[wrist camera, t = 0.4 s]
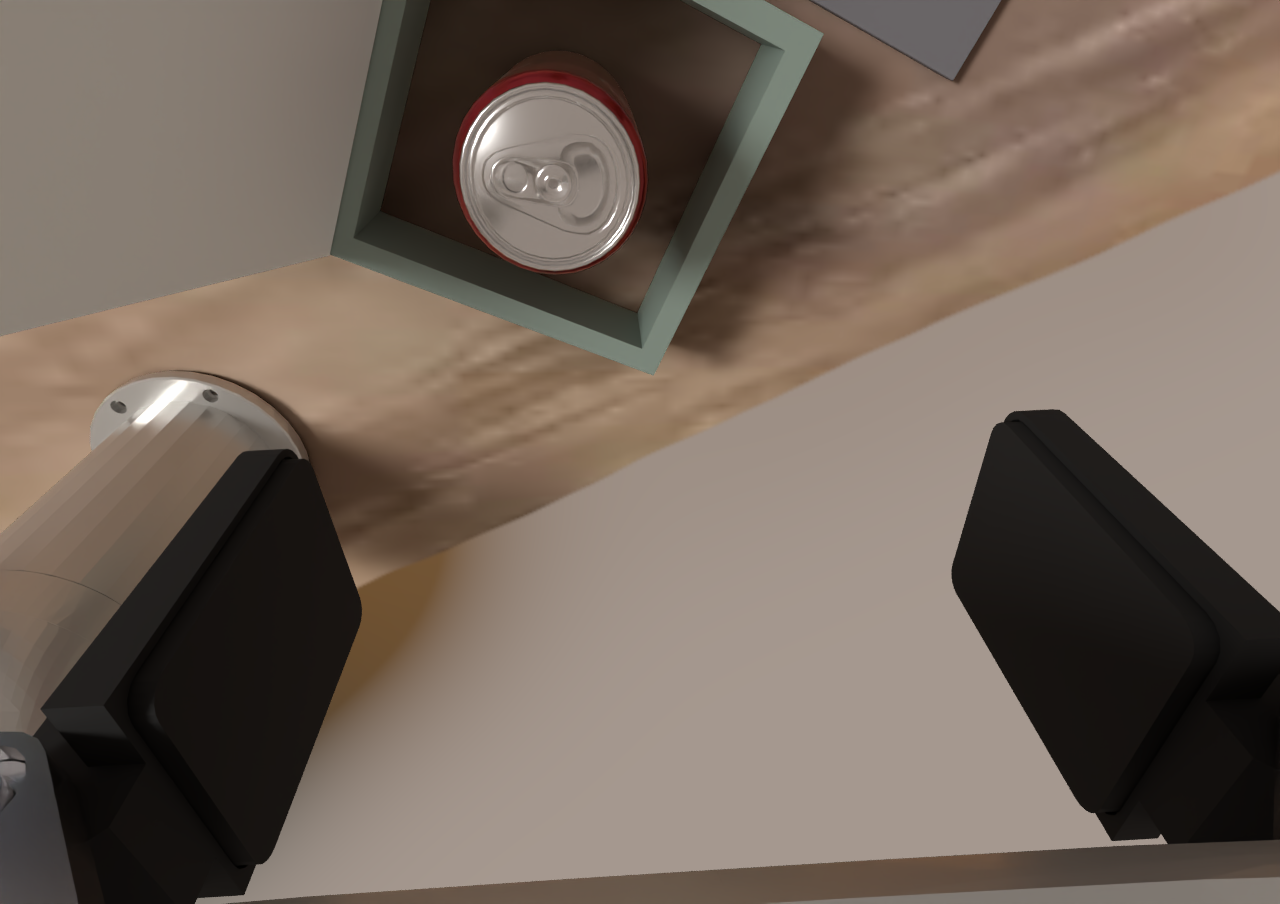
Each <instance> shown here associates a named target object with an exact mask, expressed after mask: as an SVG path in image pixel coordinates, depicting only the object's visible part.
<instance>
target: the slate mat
mask: <svg viewBox="0 0 1280 904" xmlns="http://www.w3.org/2000/svg"><path fill="white" fill-rule="evenodd" d="M810 1H811V2H813V3H815V4H817V5H818V6H820V7H822V8H824V9H825V10H827V11H829V12H831V13H832V14H834V15H836V16H838V17H839V18H841V19H843V20H845V21H846V22H848V23H850V24H852V25H853V26H855V27H857V28H859V29H860V30H862V31H864V32H866V33H867V34H869V35H871V36H873V37H874V38H876V39H878V40H880V41H881V42H883V43H885V44H887V45H888V46H890V47H892V48H894V49H895V50H897V51H899V52H901V53H902V54H904V55H906V56H908V57H910V58H911V59H913V60H915V61H917V62H918V63H920V64H922V65H924V66H925V67H927V68H929V69H931V70H932V71H934V72H936V73H938V74H939V75H941V76H943V77H945V78H946V79H948V80H954V78H955V76H956V75H957V73H958V71H959V70H960V68H961V66H962V65H963V63H964V61H965V60H966V58H967V56H968V55H969V53H970V51H971V50H972V48H973V46H974V45H975V43H976V41H977V40H978V38H979V36H980V35H981V33H982V31H983V30H984V28H985V26H986V25H987V23H988V21H989V20H990V18H991V16H992V15H993V13H994V11H995V10H996V8H997V6H998V5H999V3H1000V1H1001V0H810Z"/></svg>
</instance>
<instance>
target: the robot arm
mask: <svg viewBox="0 0 1280 904" xmlns="http://www.w3.org/2000/svg"><path fill="white" fill-rule="evenodd" d="M90 446H91V450H92V451H91V452H90V453H89V454H88V455H87V456H86V457H85V458H84V459H83V460H81V461H80V462H79V463H78V464H77V465H76V466H75V467H74V468H73V469H71V470H70V471H69V472H68V473H67V474H66V475H65V476H64V477H63V478H62V479H60V480H59V481H58V482H57V483H56V484H55V485H54V486H53V487H52V488H50V489H49V490H48V491H47V492H46V493H45V494H44V495H43V496H42V497H41V498H39V499H38V500H37V501H36V502H35V503H34V504H33V505H32V506H31V507H29V508H28V509H27V510H26V511H25V512H24V513H23V514H22V515H21V516H19V517H18V518H17V519H16V520H15V521H14V522H13V523H12V524H11V525H10V526H8V527H7V528H6V529H5V530H4V531H3V532H2V533H1V534H0V904H195V902H196V900H197V898H205V897H221V896H237V895H244V894H245V891H246V889H247V886H248V884H249V881H250V879H251V876H252V874H253V871H254V868H255V866H256V864H263V863H264V862H265V861H267V860H268V858H269V857H270V856H271V854H272V852H273V850H274V848H275V845H276V843H277V840H278V837H279V835H280V832H281V830H282V827H283V824H284V822H285V819H286V816H287V814H288V811H289V809H290V806H291V804H292V801H293V798H294V796H295V793H296V791H297V787H298V785H299V783H300V780H301V777H302V775H303V772H304V769H305V767H306V764H307V762H308V759H309V756H310V754H311V751H312V749H313V746H314V743H315V740H316V738H317V736H318V733H319V730H320V728H321V725H322V723H323V720H324V717H325V715H326V712H327V710H328V707H329V704H330V702H331V699H332V696H333V694H334V691H335V688H336V686H337V683H338V681H339V678H340V676H341V673H342V670H343V667H344V665H345V663H346V660H347V657H348V655H349V652H350V650H351V647H352V644H353V642H354V639H355V636H356V634H357V631H358V629H359V626H360V622H361V616H362V607H361V600H360V597H359V594H358V591H357V588H356V586H355V583H354V580H353V577H352V575H351V572H350V569H349V566H348V564H347V561H346V558H345V555H344V553H343V550H342V547H341V544H340V542H339V539H338V536H337V533H336V531H335V528H334V525H333V522H332V520H331V517H330V514H329V511H328V509H327V506H326V503H325V500H324V498H323V495H322V492H321V489H320V487H319V484H318V481H317V478H316V476H315V473H314V470H313V468H312V466H311V463H310V462H309V458H308V455H307V451H306V449H305V447H304V445H303V443H302V441H301V439H300V437H299V436H298V434H297V433H296V432H295V430H294V429H293V428H292V426H291V425H290V424H289V422H288V421H287V420H286V419H285V418H284V417H283V416H282V415H281V414H280V413H279V412H278V411H277V410H276V409H274V408H273V407H272V406H271V405H270V404H268V403H267V402H265V401H264V400H263V399H261V398H260V397H258V396H257V395H255V394H254V393H252V392H250V391H248V390H246V389H244V388H242V387H240V386H238V385H236V384H234V383H232V382H229V381H226V380H223V379H220V378H217V377H215V376H210V375H205V374H200V373H196V372H187V371H163V372H155V373H149V374H146V375H143V376H140V377H137V378H134V379H132V380H130V381H128V382H127V383H125V384H123V385H122V386H120V387H118V388H117V389H116V390H115V391H113V392H112V393H111V394H110V395H109V396H107V397H106V398H105V399H104V400H103V402H102V403H101V405H100V406H99V408H98V409H97V410H96V412H95V414H94V417H93V420H92V423H91V426H90ZM952 583H953V586H954V589H955V591H956V593H957V595H958V597H959V599H960V601H961V602H962V604H963V606H964V607H965V609H966V611H967V612H968V614H969V616H970V618H971V619H972V621H973V623H974V624H975V626H976V628H977V630H978V631H979V633H980V635H981V637H982V638H983V640H984V642H985V643H986V645H987V647H988V649H989V650H990V652H991V653H992V655H993V657H994V659H995V661H996V662H997V664H998V666H999V668H1000V669H1001V671H1002V673H1003V674H1004V676H1005V678H1006V679H1007V681H1008V683H1009V685H1010V686H1011V688H1012V690H1013V692H1014V693H1015V695H1016V697H1017V699H1018V700H1019V702H1020V704H1021V705H1022V707H1023V709H1024V711H1025V712H1026V714H1027V716H1028V717H1029V719H1030V721H1031V723H1032V724H1033V726H1034V728H1035V730H1036V731H1037V733H1038V735H1039V736H1040V738H1041V740H1042V741H1043V743H1044V745H1045V746H1046V748H1047V750H1048V752H1049V754H1050V755H1051V757H1052V759H1053V760H1054V762H1055V764H1056V766H1057V767H1058V769H1059V771H1060V773H1061V774H1062V776H1063V778H1064V779H1065V781H1066V783H1067V785H1068V786H1069V787H1070V790H1071V791H1072V793H1073V795H1074V797H1075V798H1076V800H1077V801H1078V802H1079V804H1080V805H1081V806H1082V807H1083V808H1084V809H1085V810H1086V811H1088V812H1090V813H1096V815H1097V817H1098V818H1099V820H1100V822H1101V823H1102V825H1103V827H1104V828H1105V830H1106V832H1107V834H1108V835H1109V837H1110V839H1111V840H1112V841H1121V840H1135V839H1136V840H1137V839H1151V838H1152V839H1153V838H1158V837H1159V836H1160V834H1162V836H1163V837H1164V839H1165V840H1166V842H1167V843H1168V844H1162V845H1135V846H1113V847H1094V848H1077V849H1062V850H1043V851H1024V852H1008V853H990V854H972V855H954V856H938V857H919V858H903V859H884V860H867V861H851V862H834V863H818V864H802V865H786V866H769V867H753V868H737V869H722V870H705V871H689V872H673V873H657V874H642V875H626V876H610V877H594V878H578V879H563V880H548V881H534V882H533V881H532V882H518V883H503V884H489V885H473V886H458V887H444V888H429V889H414V890H399V891H384V892H370V893H356V894H340V895H325V896H311V897H298V898H287V899H275V900H263V901H251V902H240V903H230V904H1280V612H1279V611H1278V610H1277V609H1276V608H1275V607H1274V606H1272V605H1271V604H1270V603H1269V602H1268V601H1267V600H1266V599H1265V598H1264V597H1263V596H1262V595H1261V594H1259V593H1258V592H1257V591H1256V590H1255V589H1254V588H1253V587H1252V586H1251V585H1250V584H1249V583H1248V582H1247V581H1246V580H1244V579H1243V578H1242V577H1241V576H1240V575H1239V574H1238V573H1237V572H1236V571H1235V570H1233V569H1232V568H1231V567H1230V566H1229V565H1228V564H1227V563H1226V562H1225V561H1224V560H1223V559H1222V558H1221V557H1219V556H1218V555H1217V554H1216V553H1215V552H1214V551H1213V550H1212V549H1211V548H1210V547H1209V546H1207V545H1206V543H1204V542H1203V541H1202V540H1201V539H1200V538H1199V537H1198V536H1196V534H1195V533H1194V532H1192V531H1191V530H1190V529H1189V528H1188V527H1187V526H1186V525H1185V524H1184V523H1183V522H1181V520H1179V519H1178V518H1177V517H1176V516H1175V515H1174V514H1173V513H1172V512H1171V511H1170V510H1169V509H1168V508H1167V507H1165V506H1164V505H1163V504H1162V503H1161V502H1160V501H1159V500H1158V499H1157V498H1156V497H1155V496H1154V495H1153V494H1151V493H1150V492H1149V491H1148V490H1147V489H1146V488H1145V487H1144V486H1143V485H1142V484H1140V483H1139V482H1138V481H1137V480H1136V479H1135V478H1134V477H1133V476H1132V475H1131V474H1130V473H1129V472H1128V471H1127V470H1125V469H1124V468H1123V467H1122V466H1121V465H1120V464H1119V463H1118V462H1117V461H1116V460H1115V459H1114V458H1112V457H1111V456H1110V455H1109V454H1108V453H1107V452H1106V451H1105V450H1104V449H1103V448H1102V447H1100V446H1099V445H1098V444H1097V443H1096V442H1095V441H1094V440H1093V439H1092V438H1091V437H1090V436H1089V435H1088V434H1086V433H1085V432H1084V431H1083V430H1082V429H1081V428H1080V427H1079V426H1078V425H1077V424H1076V423H1075V422H1074V421H1072V420H1071V419H1070V418H1069V417H1068V416H1067V415H1066V414H1065V413H1063V412H1062V411H1060V410H1053V409H1052V410H1032V411H1016V412H1015V411H1014V412H1012V413H1010V414H1009V415H1008V416H1007V417H1006V419H1005V421H1004V422H1002V423H998V424H996V426H995V427H994V428H993V430H992V433H991V436H990V439H989V443H988V446H987V449H986V453H985V456H984V460H983V463H982V467H981V470H980V473H979V477H978V480H977V484H976V487H975V490H974V494H973V497H972V500H971V504H970V507H969V511H968V514H967V517H966V521H965V524H964V528H963V531H962V534H961V538H960V541H959V544H958V548H957V551H956V555H955V558H954V561H953V566H952ZM228 904H229V903H228Z"/></svg>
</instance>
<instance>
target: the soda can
mask: <svg viewBox="0 0 1280 904" xmlns="http://www.w3.org/2000/svg"><path fill="white" fill-rule="evenodd" d="M452 164H453V182H454V186H455V191H456V196H457V200H458V202H459V204H460V207H461V209H462V212H463V214H464V216H465V218H466V220H467V221H468V223H469V224H470V226H471V228H472V229H473V231H474V232H475V234H476V235H477V236H478V237H479V238H480V239H481V240H482V241H483V242H484V244H485V245H486V246H487V247H488V248H489V249H491V250H492V251H493V252H495V253H496V254H497V255H499V256H500V257H501V258H503V259H504V260H506V261H508V262H510V263H512V264H514V265H516V266H518V267H520V268H523V269H526V270H530V271H533V272H537V273H543V274H554V275H558V274H568V273H575V272H579V271H582V270H585V269H589V268H591V267H593V266H595V265H597V264H599V263H601V262H603V261H605V260H606V259H608V258H609V257H610V256H611V255H612V254H614V253H615V252H616V251H617V250H619V249H620V248H621V247H622V245H623V244H624V243H625V242H626V240H627V239H628V238H629V237H630V236H631V234H632V233H633V231H634V229H635V227H636V225H637V223H638V221H639V220H640V218H641V215H642V211H643V208H644V205H645V202H646V197H647V188H648V167H647V158H646V154H645V151H644V147H643V143H642V139H641V137H640V134H639V131H638V128H637V125H636V123H635V120H634V117H633V114H632V111H631V109H630V106H629V103H628V101H627V99H626V97H625V95H624V93H623V90H622V89H621V87H620V86H619V84H618V83H617V82H616V80H615V79H614V78H613V76H612V75H611V74H610V73H609V72H608V71H606V70H605V69H604V68H603V67H602V66H601V65H600V64H598V63H596V62H595V61H593V60H591V59H590V58H588V57H586V56H583V55H580V54H577V53H575V52H569V51H561V50H554V51H544V52H540V53H537V54H534V55H531V56H529V57H527V58H525V59H524V60H522V61H521V62H519V63H517V64H516V65H515V66H514V67H512V68H511V69H510V70H509V71H508V72H507V73H506V74H504V75H503V76H502V77H501V78H500V79H499V80H497V81H496V82H495V83H494V84H493V85H492V86H491V87H489V88H488V89H487V90H486V91H485V92H484V93H483V94H482V95H481V96H480V97H479V98H478V99H477V100H476V101H475V102H474V103H473V105H472V106H471V108H470V110H469V111H468V113H467V114H466V116H465V117H464V119H463V121H462V123H461V126H460V129H459V131H458V134H457V137H456V140H455V146H454V152H453V158H452Z"/></svg>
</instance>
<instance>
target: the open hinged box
mask: <svg viewBox="0 0 1280 904" xmlns="http://www.w3.org/2000/svg"><path fill="white" fill-rule="evenodd" d="M680 1H682V2H684V3H686V4H688V5H690V6H691V7H693V8H695V9H697V10H699V11H701V12H703V13H704V14H706V15H708V16H710V17H712V18H714V19H715V20H717V21H719V22H721V23H723V24H725V25H727V26H728V27H730V28H732V29H734V30H736V31H738V32H740V33H741V34H743V35H745V36H747V37H749V38H751V39H753V40H754V41H756V42H758V43H760V44H761V46H760V48H759V50H758V52H757V54H756V57H755V59H754V61H753V63H752V65H751V67H750V70H749V72H748V74H747V76H746V78H745V80H744V83H743V85H742V87H741V89H740V91H739V94H738V96H737V98H736V100H735V102H734V104H733V107H732V109H731V111H730V113H729V115H728V117H727V120H726V122H725V124H724V126H723V128H722V130H721V133H720V135H719V137H718V139H717V141H716V143H715V146H714V148H713V150H712V152H711V154H710V156H709V159H708V161H707V163H706V165H705V167H704V169H703V172H702V174H701V176H700V178H699V180H698V182H697V185H696V187H695V189H694V191H693V193H692V195H691V198H690V200H689V202H688V204H687V206H686V209H685V211H684V213H683V215H682V217H681V219H680V222H679V224H678V226H677V228H676V230H675V232H674V235H673V237H672V239H671V241H670V243H669V245H668V248H667V250H666V252H665V254H664V256H663V258H662V261H661V263H660V265H659V267H658V269H657V271H656V274H655V276H654V278H653V280H652V282H651V284H650V287H649V289H648V291H647V293H646V295H645V297H644V300H643V302H642V304H641V306H640V308H639V311H638V313H635V312H633V311H630V310H628V309H625V308H623V307H620V306H618V305H615V304H613V303H610V302H608V301H605V300H602V299H600V298H597V297H595V296H592V295H590V294H587V293H585V292H582V291H580V290H577V289H575V288H572V287H570V286H567V285H565V284H562V283H560V282H557V281H555V280H552V279H550V278H547V277H545V276H542V275H540V274H537V273H535V272H532V271H530V270H526V269H523V268H520V267H518V266H516V265H514V264H512V263H509V262H507V261H504V260H502V259H499V258H497V257H494V256H492V255H489V254H487V253H484V252H482V251H479V250H477V249H474V248H472V247H469V246H467V245H464V244H462V243H459V242H457V241H454V240H452V239H449V238H447V237H444V236H442V235H439V234H437V233H434V232H432V231H429V230H426V229H424V228H421V227H419V226H416V225H414V224H411V223H409V222H406V221H404V220H401V219H399V218H396V217H394V216H391V215H389V214H386V213H384V212H381V211H380V210H381V206H382V202H383V198H384V193H385V189H386V185H387V181H388V177H389V172H390V168H391V164H392V160H393V156H394V151H395V147H396V143H397V139H398V135H399V130H400V126H401V122H402V118H403V113H404V109H405V105H406V101H407V97H408V92H409V88H410V84H411V80H412V76H413V71H414V67H415V63H416V59H417V55H418V50H419V46H420V42H421V38H422V34H423V29H424V25H425V21H426V17H427V13H428V8H429V4H430V0H0V336H3V335H7V334H12V333H16V332H20V331H24V330H28V329H32V328H36V327H40V326H44V325H48V324H52V323H56V322H60V321H65V320H69V319H73V318H77V317H81V316H85V315H89V314H93V313H97V312H101V311H105V310H109V309H114V308H118V307H122V306H126V305H130V304H134V303H138V302H142V301H146V300H150V299H154V298H158V297H162V296H167V295H171V294H175V293H179V292H183V291H187V290H191V289H195V288H199V287H203V286H207V285H211V284H215V283H220V282H224V281H228V280H232V279H236V278H240V277H244V276H248V275H252V274H256V273H260V272H264V271H269V270H273V269H277V268H281V267H285V266H289V265H293V264H297V263H301V262H305V261H309V260H313V259H317V258H322V257H326V256H330V255H333V256H335V257H338V258H341V259H343V260H346V261H349V262H352V263H354V264H357V265H360V266H362V267H365V268H368V269H370V270H373V271H376V272H378V273H381V274H384V275H386V276H389V277H392V278H394V279H397V280H400V281H402V282H405V283H408V284H410V285H413V286H416V287H418V288H421V289H424V290H426V291H429V292H432V293H434V294H437V295H440V296H442V297H445V298H448V299H450V300H453V301H456V302H458V303H461V304H464V305H466V306H469V307H472V308H474V309H477V310H480V311H482V312H485V313H488V314H490V315H493V316H496V317H499V318H501V319H504V320H507V321H509V322H512V323H515V324H517V325H520V326H523V327H525V328H528V329H531V330H533V331H536V332H539V333H541V334H544V335H547V336H549V337H552V338H555V339H557V340H560V341H563V342H565V343H568V344H571V345H573V346H576V347H579V348H581V349H584V350H587V351H589V352H592V353H595V354H597V355H600V356H603V357H605V358H608V359H611V360H613V361H616V362H619V363H621V364H624V365H627V366H629V367H632V368H635V369H637V370H640V371H643V372H646V373H648V374H651V375H654V374H655V372H656V370H657V368H658V366H659V364H660V362H661V360H662V358H663V356H664V354H665V352H666V350H667V348H668V345H669V343H670V341H671V339H672V337H673V335H674V333H675V331H676V329H677V327H678V325H679V323H680V321H681V319H682V317H683V315H684V313H685V311H686V309H687V307H688V305H689V303H690V301H691V299H692V297H693V295H694V293H695V291H696V289H697V287H698V285H699V283H700V281H701V279H702V277H703V275H704V273H705V271H706V269H707V267H708V265H709V263H710V261H711V259H712V257H713V255H714V253H715V251H716V249H717V247H718V245H719V243H720V241H721V239H722V237H723V235H724V233H725V231H726V229H727V227H728V225H729V223H730V221H731V219H732V217H733V215H734V213H735V211H736V209H737V207H738V205H739V203H740V201H741V199H742V197H743V195H744V193H745V191H746V189H747V187H748V185H749V183H750V181H751V179H752V177H753V175H754V173H755V171H756V169H757V167H758V165H759V163H760V161H761V159H762V157H763V155H764V153H765V151H766V149H767V147H768V145H769V143H770V141H771V139H772V137H773V135H774V133H775V131H776V129H777V127H778V125H779V123H780V121H781V119H782V117H783V115H784V113H785V111H786V109H787V107H788V105H789V103H790V101H791V99H792V97H793V95H794V93H795V91H796V89H797V87H798V85H799V83H800V81H801V79H802V77H803V75H804V73H805V71H806V69H807V67H808V65H809V63H810V61H811V59H812V57H813V55H814V53H815V51H816V49H817V46H818V44H819V42H820V40H821V38H822V36H823V33H821V32H820V31H818V30H816V29H814V28H812V27H811V26H809V25H807V24H805V23H804V22H802V21H800V20H798V19H796V18H795V17H793V16H791V15H789V14H787V13H786V12H784V11H782V10H780V9H778V8H777V7H775V6H773V5H771V4H770V3H768V2H766V1H764V0H680Z"/></svg>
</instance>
